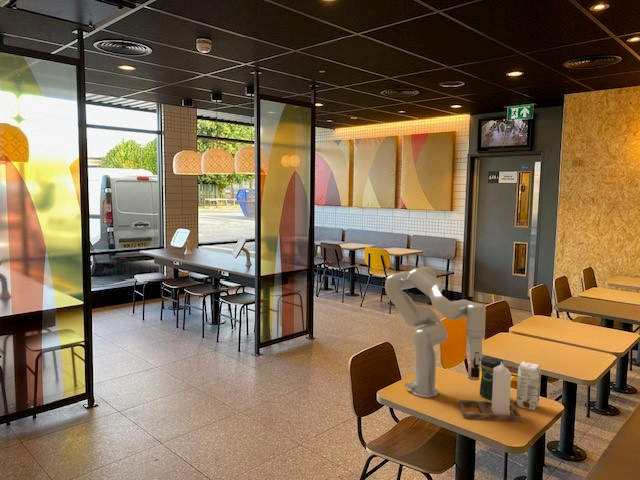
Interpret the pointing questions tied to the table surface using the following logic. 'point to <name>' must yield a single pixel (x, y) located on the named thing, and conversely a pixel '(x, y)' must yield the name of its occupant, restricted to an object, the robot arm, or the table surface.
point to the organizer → (485, 413)
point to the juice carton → (528, 385)
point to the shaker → (470, 371)
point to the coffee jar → (488, 375)
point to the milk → (501, 390)
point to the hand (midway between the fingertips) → (473, 374)
